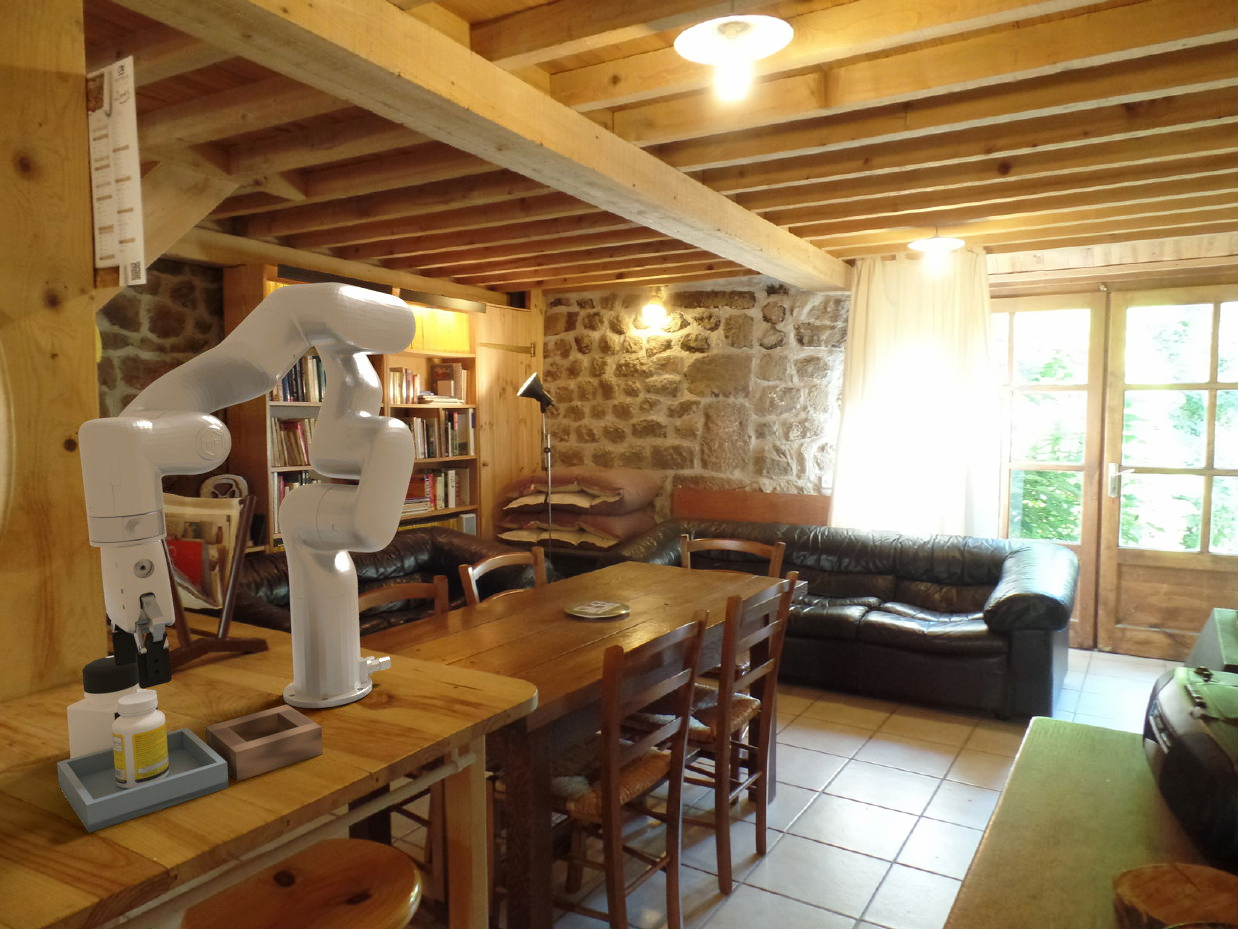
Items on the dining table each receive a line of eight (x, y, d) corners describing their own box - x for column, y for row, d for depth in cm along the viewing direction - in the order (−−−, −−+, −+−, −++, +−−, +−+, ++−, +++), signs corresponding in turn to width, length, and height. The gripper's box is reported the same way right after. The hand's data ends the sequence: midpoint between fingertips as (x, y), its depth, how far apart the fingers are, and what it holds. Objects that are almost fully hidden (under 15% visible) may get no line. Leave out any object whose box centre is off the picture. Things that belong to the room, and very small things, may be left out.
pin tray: (188, 750, 108) (186, 727, 107) (228, 787, 98) (227, 762, 97) (58, 787, 98) (57, 762, 98) (88, 833, 88) (86, 805, 88)
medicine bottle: (119, 767, 103) (112, 671, 102) (69, 762, 105) (62, 667, 103) (161, 742, 110) (155, 652, 109) (114, 738, 111) (108, 649, 110)
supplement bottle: (178, 768, 101) (173, 688, 100) (154, 790, 95) (148, 706, 94) (132, 769, 101) (126, 689, 100) (105, 791, 95) (99, 707, 94)
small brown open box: (288, 729, 114) (287, 704, 113) (322, 753, 106) (321, 726, 106) (206, 753, 106) (205, 726, 106) (237, 781, 99) (235, 752, 99)
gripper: (189, 532, 91) (203, 684, 94) (142, 513, 104) (155, 647, 106) (110, 544, 86) (127, 704, 88) (70, 522, 99) (86, 663, 101)
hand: (142, 673), depth 97 cm, fingers open, 9 cm apart
